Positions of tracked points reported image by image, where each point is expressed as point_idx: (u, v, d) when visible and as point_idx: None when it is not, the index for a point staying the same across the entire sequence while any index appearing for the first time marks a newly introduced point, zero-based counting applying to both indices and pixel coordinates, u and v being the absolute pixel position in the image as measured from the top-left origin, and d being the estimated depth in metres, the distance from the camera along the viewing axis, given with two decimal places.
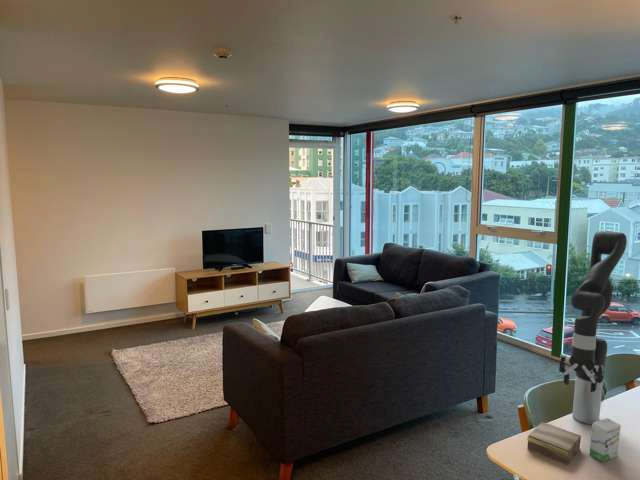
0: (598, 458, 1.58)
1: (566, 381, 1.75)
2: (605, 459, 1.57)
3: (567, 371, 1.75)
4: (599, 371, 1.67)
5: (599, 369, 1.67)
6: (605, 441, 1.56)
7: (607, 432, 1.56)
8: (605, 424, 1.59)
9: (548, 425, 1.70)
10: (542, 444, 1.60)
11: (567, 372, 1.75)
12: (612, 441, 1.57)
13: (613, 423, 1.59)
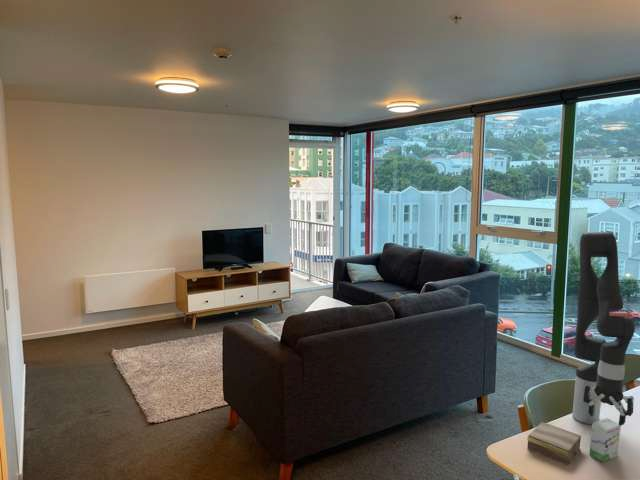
0: (598, 458, 1.58)
1: (591, 412, 1.61)
2: (605, 459, 1.57)
3: (592, 401, 1.60)
4: (628, 403, 1.52)
5: (628, 401, 1.52)
6: (605, 441, 1.56)
7: (607, 432, 1.56)
8: (605, 424, 1.59)
9: (548, 425, 1.70)
10: (542, 444, 1.60)
11: (592, 403, 1.60)
12: (612, 441, 1.57)
13: (613, 423, 1.59)
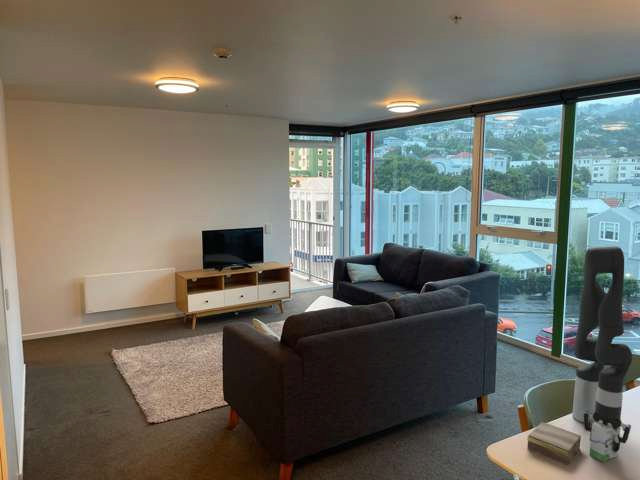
0: (598, 458, 1.58)
1: None
2: (605, 459, 1.57)
3: None
4: (625, 431, 1.54)
5: (626, 430, 1.54)
6: (605, 441, 1.56)
7: (607, 432, 1.56)
8: None
9: (548, 425, 1.70)
10: (542, 444, 1.60)
11: None
12: (612, 441, 1.57)
13: None
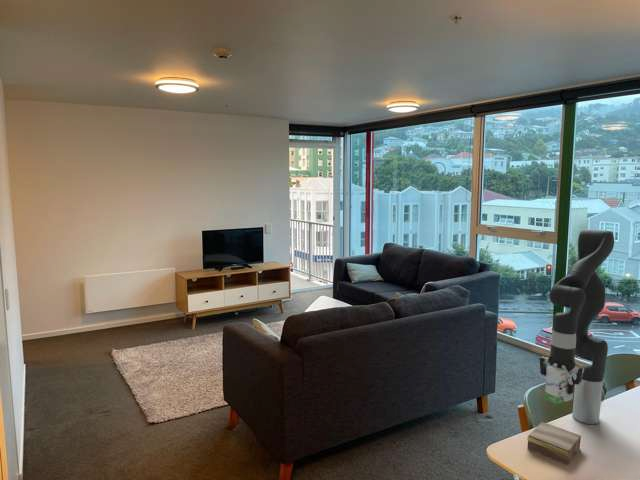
0: (552, 401, 1.59)
1: None
2: (559, 401, 1.58)
3: None
4: (579, 373, 1.55)
5: (579, 371, 1.55)
6: (559, 383, 1.57)
7: (561, 374, 1.57)
8: None
9: (548, 425, 1.70)
10: (542, 444, 1.60)
11: None
12: (566, 383, 1.58)
13: None
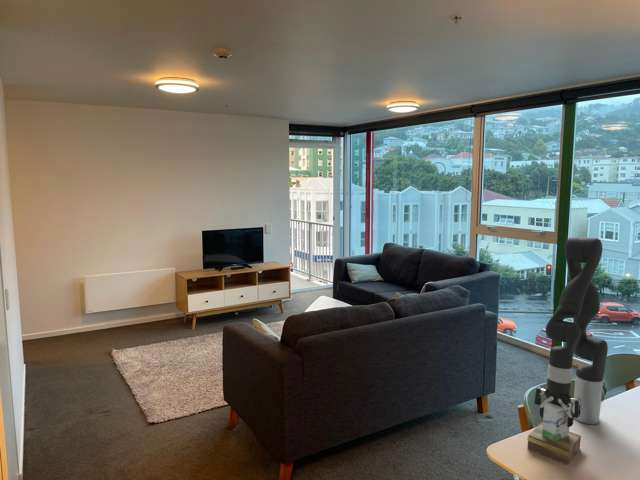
0: (550, 438, 1.61)
1: (542, 414, 1.65)
2: (557, 439, 1.60)
3: (543, 404, 1.64)
4: (575, 405, 1.57)
5: (575, 403, 1.57)
6: (557, 421, 1.59)
7: (558, 412, 1.59)
8: None
9: None
10: (542, 444, 1.60)
11: (543, 405, 1.64)
12: (563, 420, 1.60)
13: None
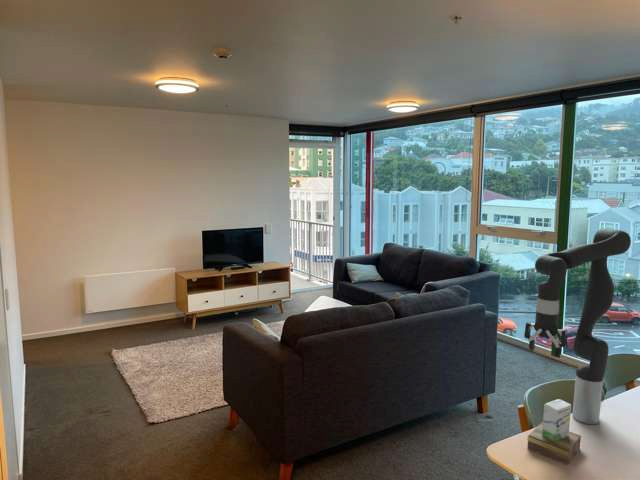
0: (550, 438, 1.61)
1: (531, 347, 1.75)
2: (557, 439, 1.60)
3: (532, 337, 1.74)
4: (562, 335, 1.66)
5: (562, 333, 1.66)
6: (557, 421, 1.59)
7: (558, 412, 1.59)
8: (557, 404, 1.62)
9: None
10: (542, 444, 1.60)
11: (532, 338, 1.74)
12: (563, 420, 1.60)
13: (564, 403, 1.63)
